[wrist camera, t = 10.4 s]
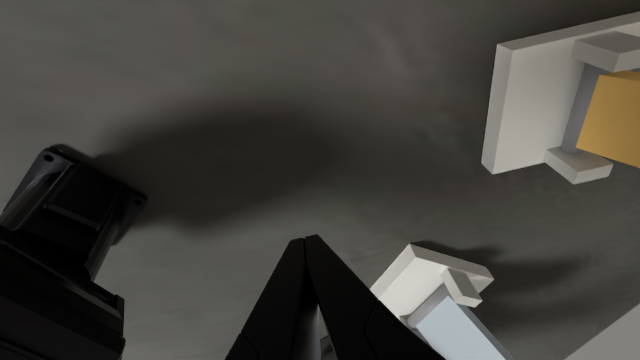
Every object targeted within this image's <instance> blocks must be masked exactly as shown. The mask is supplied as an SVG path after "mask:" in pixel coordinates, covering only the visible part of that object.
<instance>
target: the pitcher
mask: <svg viewBox="0 0 640 360" xmlns="http://www.w3.org/2000/svg"><path fill="white" fill-rule="evenodd" d="M320 350H321V360H336V357H335V354H334V351H333V348H332V345H331V342H330V338H329V336H327V337H326V338H324V339H322V340H320Z"/></svg>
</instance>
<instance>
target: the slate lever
mask: <svg viewBox="0 0 640 360" xmlns="http://www.w3.org/2000/svg"><path fill="white" fill-rule="evenodd" d="M407 322H408V325H409V326H410V327H411V328H412V329H413V330H416V331H417V330H419V331H420V332H421V334H422V335H423V336H424V338H425V339H426V340H427V341H428V343H429V344H430V345H431V346H432V348H433V349H434V350H436V351H437V352H438V353H439V354H440V355H442V356H443V357H444V358H445V359H447V360H515V359H514V358H513V357H512V356H511V354H510V353H509V352H508V351H507V350H506V349H505V348H504V347H503V346H502V345H501V343H500V342H499V341H498V340H497V339H496V338H495V337H494V336H493V335H492V334H491V332H490V331H489V330H488V329H487V328H486V327H485V326H484V325H483V324H482V323H481V321H480V320H479V319H478V318H477V317H476V316H475V315H474V314H473V313H472V312H471V310H470V309H469V308H468V307H467V306H466V305H462V304H458V303H455V302H454V300H453V298H452V296H451V294H450V293H449V291H448V289H447V287H446V285H445V283H443V284H442V285H441V286H440V287H439V288H438V289H437V290H436V291H435V292H434V293H433V294H432V295H431V296H430V297H429V298H428V299H427V300H426V301H425V302H424V303H423V304H422V305H421V306H420V307H419V308H418V309H417V310H416V311H415V312H414V313H413V314H412V315H411V316H410V317H409V318H408V319H407Z"/></svg>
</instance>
